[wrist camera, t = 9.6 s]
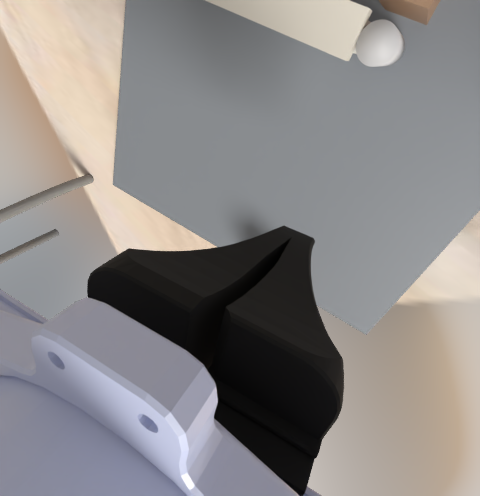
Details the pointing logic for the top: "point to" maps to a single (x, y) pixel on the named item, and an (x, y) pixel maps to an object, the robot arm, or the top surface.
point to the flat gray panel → (307, 139)
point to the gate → (327, 27)
